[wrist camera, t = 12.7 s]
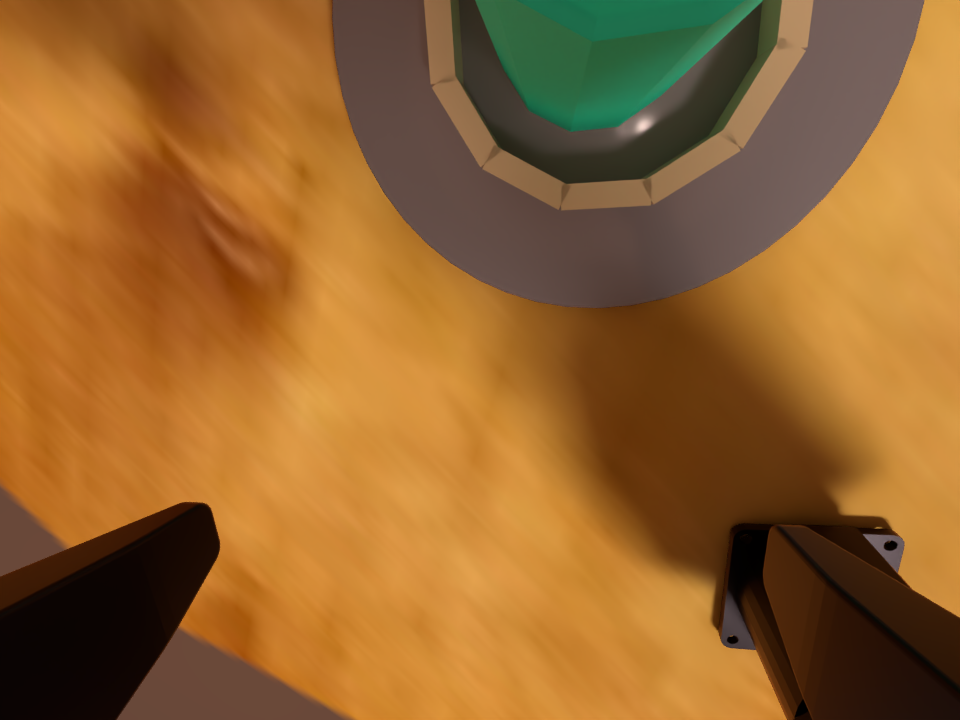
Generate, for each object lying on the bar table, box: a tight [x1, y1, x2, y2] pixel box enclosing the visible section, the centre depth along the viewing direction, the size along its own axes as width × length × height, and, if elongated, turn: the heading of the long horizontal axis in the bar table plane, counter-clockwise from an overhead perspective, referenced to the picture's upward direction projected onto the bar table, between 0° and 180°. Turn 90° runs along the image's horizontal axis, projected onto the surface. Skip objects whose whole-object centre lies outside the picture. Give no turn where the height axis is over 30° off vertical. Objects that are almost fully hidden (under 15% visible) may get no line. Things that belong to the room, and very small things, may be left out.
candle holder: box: [332, 0, 924, 308], centre depth 15 cm, size 18×18×2 cm
